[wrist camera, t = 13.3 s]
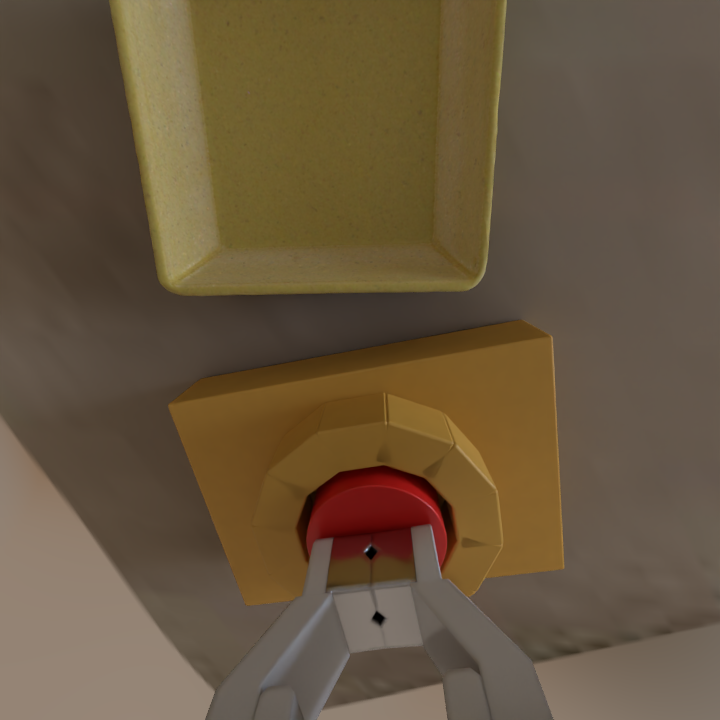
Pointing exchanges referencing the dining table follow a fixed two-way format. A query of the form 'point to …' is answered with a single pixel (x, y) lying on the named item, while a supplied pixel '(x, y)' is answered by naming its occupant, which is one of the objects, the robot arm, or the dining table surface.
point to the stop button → (375, 505)
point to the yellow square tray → (314, 141)
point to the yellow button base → (385, 450)
